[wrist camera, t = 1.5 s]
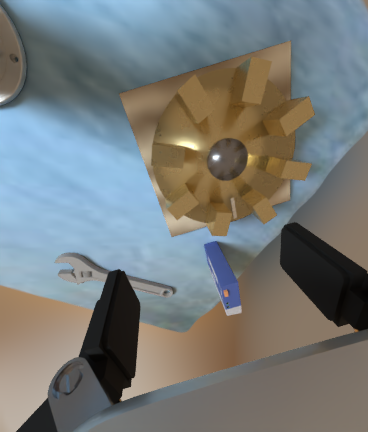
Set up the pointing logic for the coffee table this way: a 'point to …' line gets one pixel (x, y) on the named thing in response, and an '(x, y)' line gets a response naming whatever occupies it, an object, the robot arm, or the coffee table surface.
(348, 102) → the coffee table surface
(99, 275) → the adjustable wrench
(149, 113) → the base plate
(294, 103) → the bevel gear
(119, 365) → the robot arm
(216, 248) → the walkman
